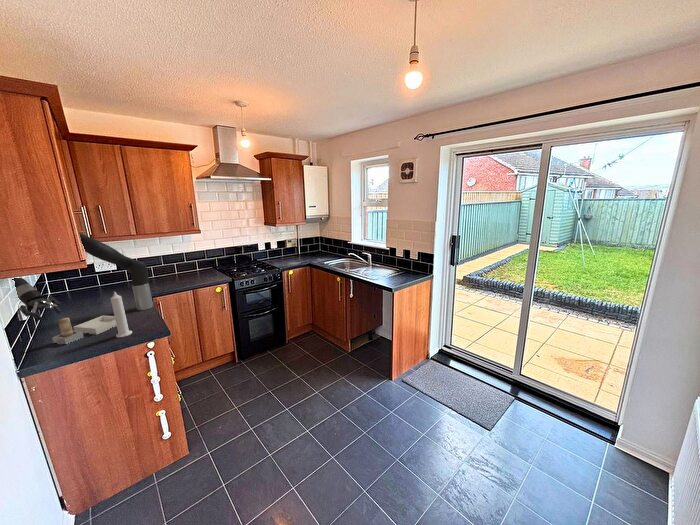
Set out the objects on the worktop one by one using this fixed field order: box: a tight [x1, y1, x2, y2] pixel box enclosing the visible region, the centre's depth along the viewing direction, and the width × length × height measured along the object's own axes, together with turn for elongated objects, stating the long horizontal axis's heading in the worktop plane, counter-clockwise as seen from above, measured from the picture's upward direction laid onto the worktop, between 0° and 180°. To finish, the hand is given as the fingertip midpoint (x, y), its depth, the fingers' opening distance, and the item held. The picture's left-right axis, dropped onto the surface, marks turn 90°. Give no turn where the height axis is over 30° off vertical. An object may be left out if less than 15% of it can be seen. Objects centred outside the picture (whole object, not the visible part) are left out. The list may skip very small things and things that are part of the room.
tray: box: [72, 314, 117, 335], centre depth 166 cm, size 16×16×4 cm
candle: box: [110, 291, 133, 339], centre depth 153 cm, size 7×7×25 cm
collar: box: [52, 330, 85, 345], centre depth 151 cm, size 8×8×4 cm
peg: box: [57, 317, 74, 337], centre depth 150 cm, size 4×4×12 cm
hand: (50, 315), depth 150 cm, fingers open, 8 cm apart
